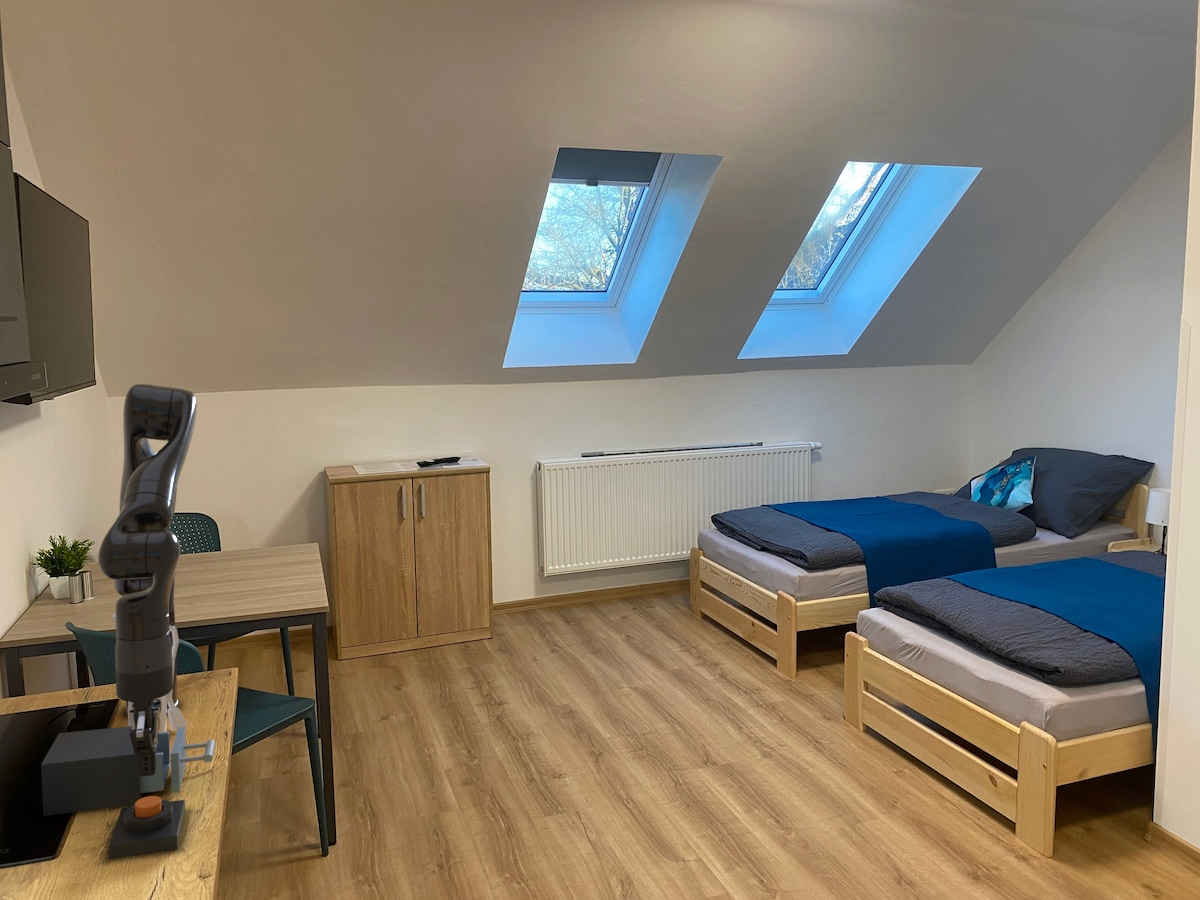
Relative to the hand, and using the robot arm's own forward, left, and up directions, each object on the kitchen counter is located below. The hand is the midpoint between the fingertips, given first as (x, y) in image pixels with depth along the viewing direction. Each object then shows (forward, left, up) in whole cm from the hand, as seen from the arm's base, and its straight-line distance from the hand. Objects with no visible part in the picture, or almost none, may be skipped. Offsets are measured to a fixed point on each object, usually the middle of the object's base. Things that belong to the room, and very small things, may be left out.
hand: (147, 773), depth 135 cm
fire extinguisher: (-36, -4, -10) cm, 38 cm away
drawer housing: (-16, -10, -10) cm, 21 cm away
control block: (0, 0, -10) cm, 10 cm away
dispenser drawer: (-16, -1, -9) cm, 18 cm away
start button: (0, 0, -6) cm, 6 cm away
